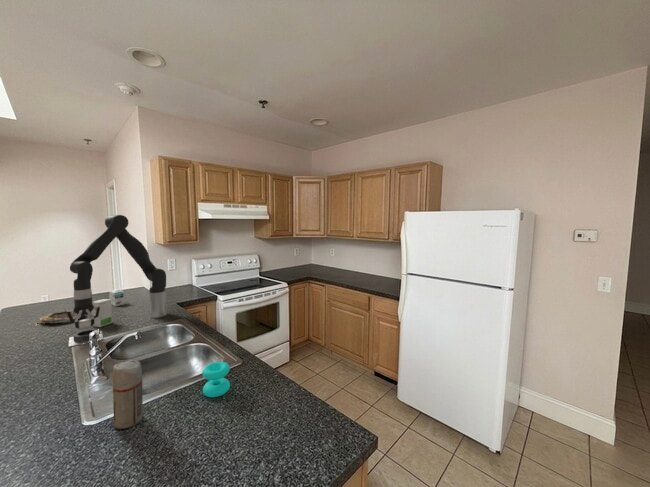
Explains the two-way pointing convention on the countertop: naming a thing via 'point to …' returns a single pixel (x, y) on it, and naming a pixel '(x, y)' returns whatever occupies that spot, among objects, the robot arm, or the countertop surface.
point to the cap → (84, 324)
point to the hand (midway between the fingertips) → (85, 326)
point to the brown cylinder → (127, 394)
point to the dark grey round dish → (82, 337)
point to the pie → (57, 317)
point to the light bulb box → (117, 297)
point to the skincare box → (102, 312)
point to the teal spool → (216, 379)
